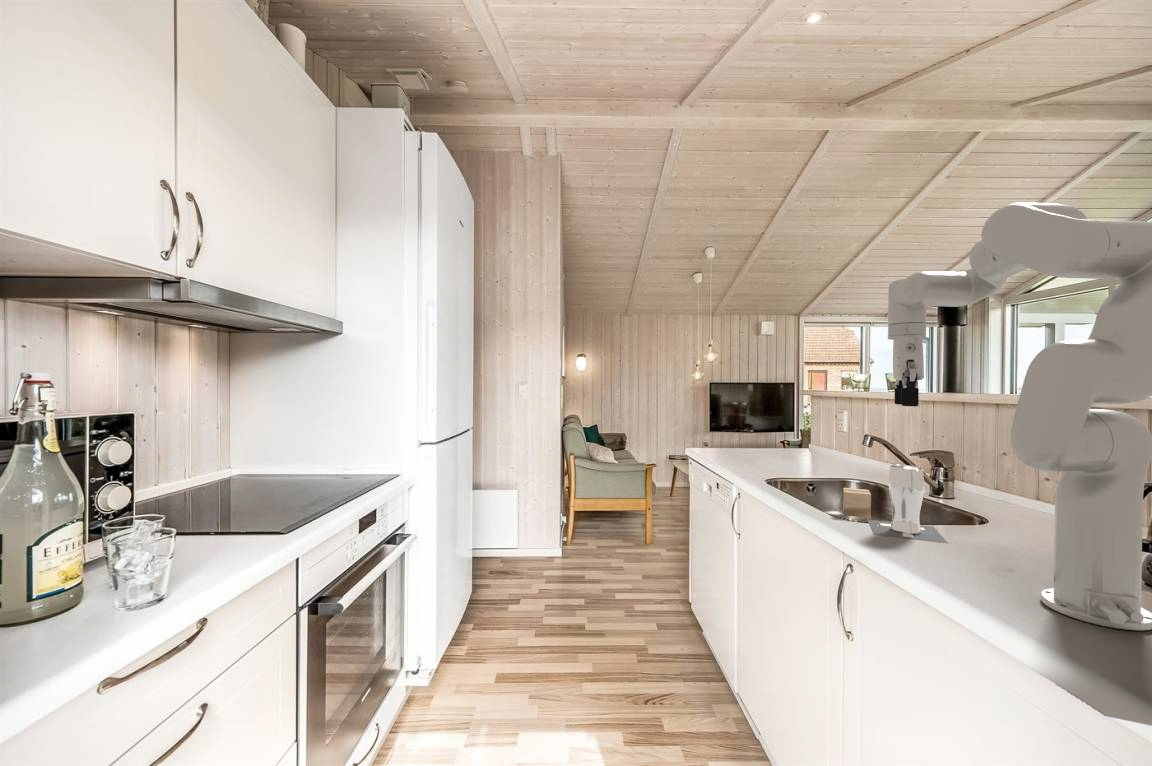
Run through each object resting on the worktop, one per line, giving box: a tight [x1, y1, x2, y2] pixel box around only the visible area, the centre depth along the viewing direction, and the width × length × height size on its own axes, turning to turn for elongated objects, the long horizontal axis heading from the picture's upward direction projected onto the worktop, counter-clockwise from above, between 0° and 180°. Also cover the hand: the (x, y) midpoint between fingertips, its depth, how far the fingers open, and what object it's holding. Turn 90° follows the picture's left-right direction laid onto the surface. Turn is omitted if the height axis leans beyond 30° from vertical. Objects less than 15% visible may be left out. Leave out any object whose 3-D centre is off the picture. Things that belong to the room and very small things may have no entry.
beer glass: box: [888, 464, 925, 535], centre depth 119 cm, size 7×7×15 cm
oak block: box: [842, 487, 872, 519], centre depth 134 cm, size 6×6×7 cm
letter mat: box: [867, 519, 949, 544], centre depth 119 cm, size 14×14×1 cm
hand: (905, 405), depth 119 cm, fingers open, 9 cm apart
